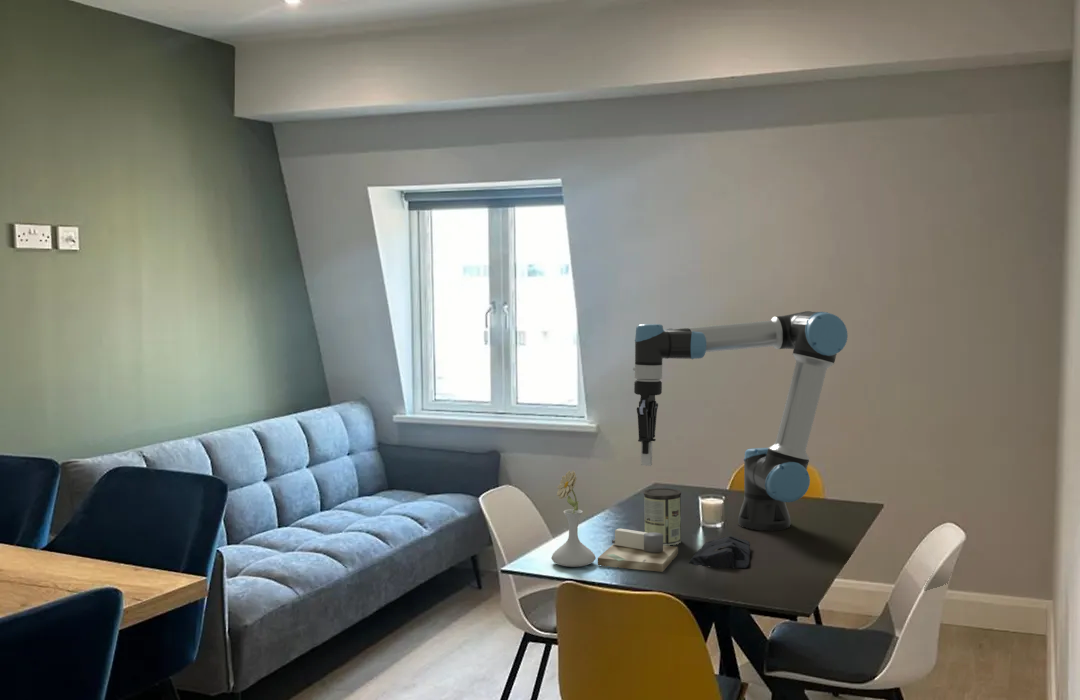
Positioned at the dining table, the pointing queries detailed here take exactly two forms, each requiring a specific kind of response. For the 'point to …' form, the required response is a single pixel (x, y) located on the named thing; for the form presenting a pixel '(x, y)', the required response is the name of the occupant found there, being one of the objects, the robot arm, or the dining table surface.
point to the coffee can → (663, 514)
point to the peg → (639, 540)
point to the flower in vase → (572, 530)
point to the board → (637, 558)
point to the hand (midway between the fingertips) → (646, 464)
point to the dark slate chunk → (723, 553)
